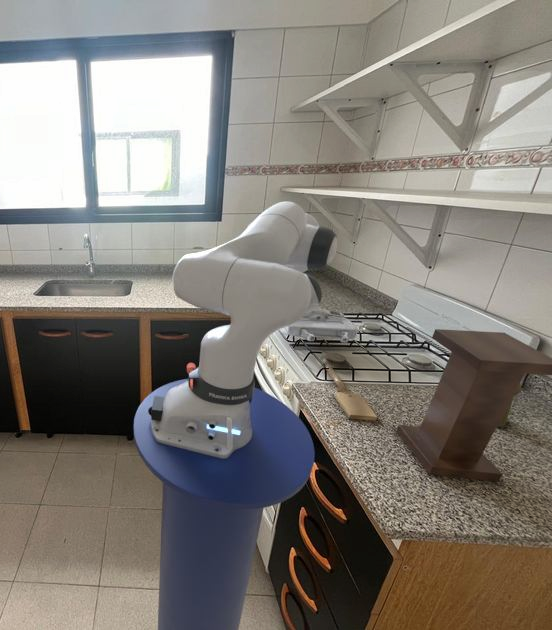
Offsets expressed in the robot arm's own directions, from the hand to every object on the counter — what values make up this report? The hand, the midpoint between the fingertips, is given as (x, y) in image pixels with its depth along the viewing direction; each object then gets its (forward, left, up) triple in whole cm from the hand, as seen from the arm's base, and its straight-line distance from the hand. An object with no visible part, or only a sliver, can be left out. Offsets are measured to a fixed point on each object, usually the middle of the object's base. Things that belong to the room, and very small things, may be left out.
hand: (328, 340), depth 103 cm
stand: (+12, -36, -8) cm, 38 cm away
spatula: (0, -15, -8) cm, 17 cm away
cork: (+30, -22, -8) cm, 38 cm away
